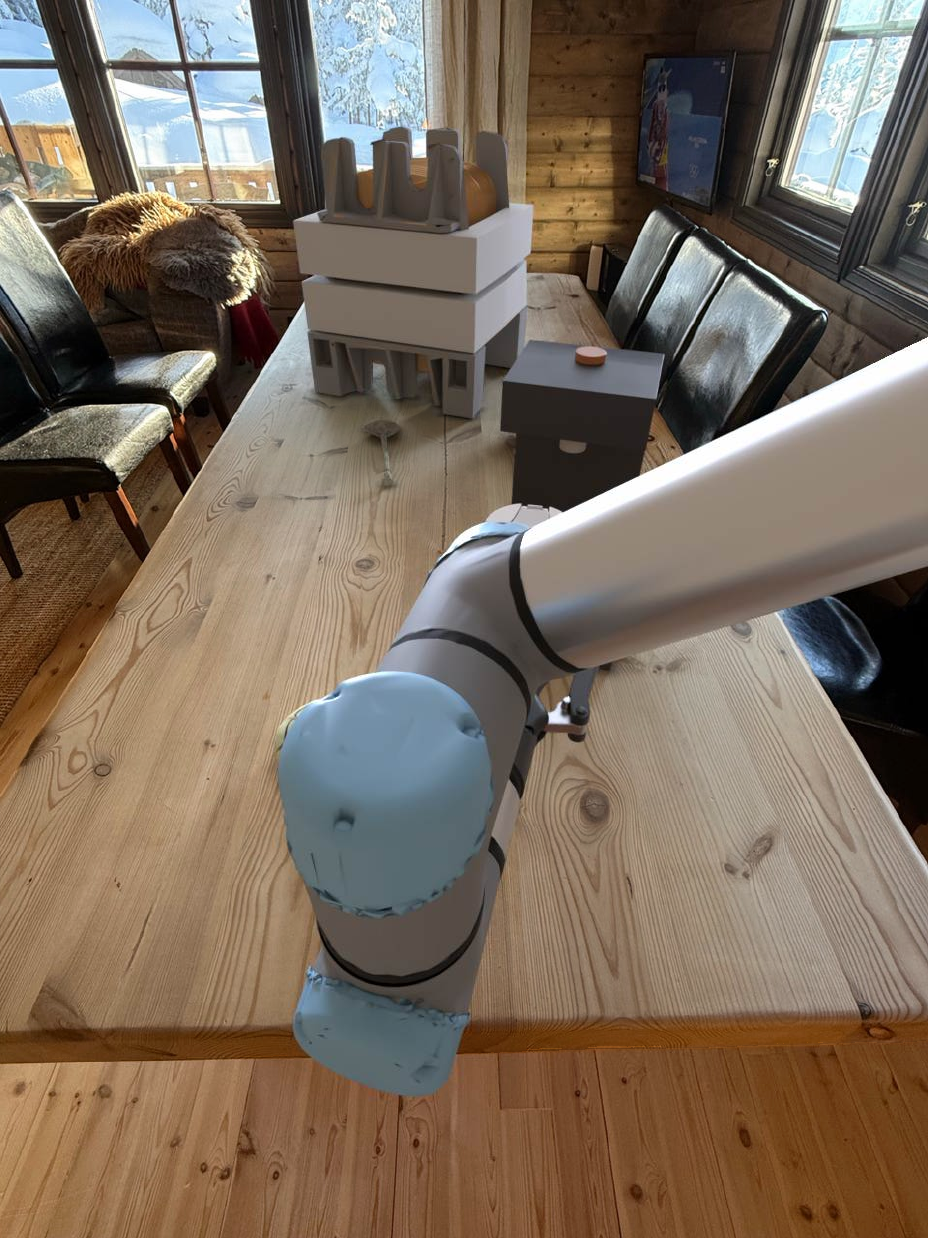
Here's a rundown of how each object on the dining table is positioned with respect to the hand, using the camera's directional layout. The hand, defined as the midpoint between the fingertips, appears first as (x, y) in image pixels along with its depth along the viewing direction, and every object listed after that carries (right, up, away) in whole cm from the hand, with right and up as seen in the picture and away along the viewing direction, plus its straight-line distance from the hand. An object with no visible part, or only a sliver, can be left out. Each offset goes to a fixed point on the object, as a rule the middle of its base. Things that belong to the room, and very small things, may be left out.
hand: (535, 565), depth 56 cm
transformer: (-14, +45, +80) cm, 93 cm away
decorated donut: (-18, -18, +7) cm, 26 cm away
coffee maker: (+4, -4, +23) cm, 24 cm away
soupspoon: (-19, +23, +53) cm, 61 cm away
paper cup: (-1, -9, +1) cm, 9 cm away
